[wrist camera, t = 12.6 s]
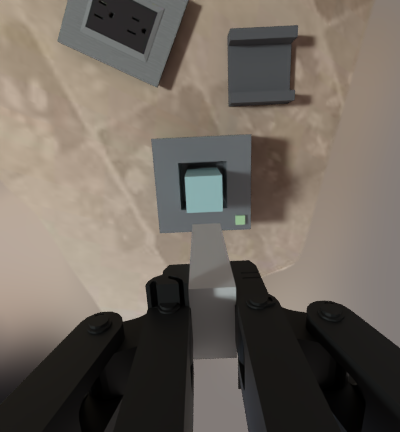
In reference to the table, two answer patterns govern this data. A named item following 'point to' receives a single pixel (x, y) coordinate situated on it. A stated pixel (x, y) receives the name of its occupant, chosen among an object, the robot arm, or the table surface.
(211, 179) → the plug
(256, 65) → the grey u-channel bracket
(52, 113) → the table surface
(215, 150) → the port block
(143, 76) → the electrical outlet
